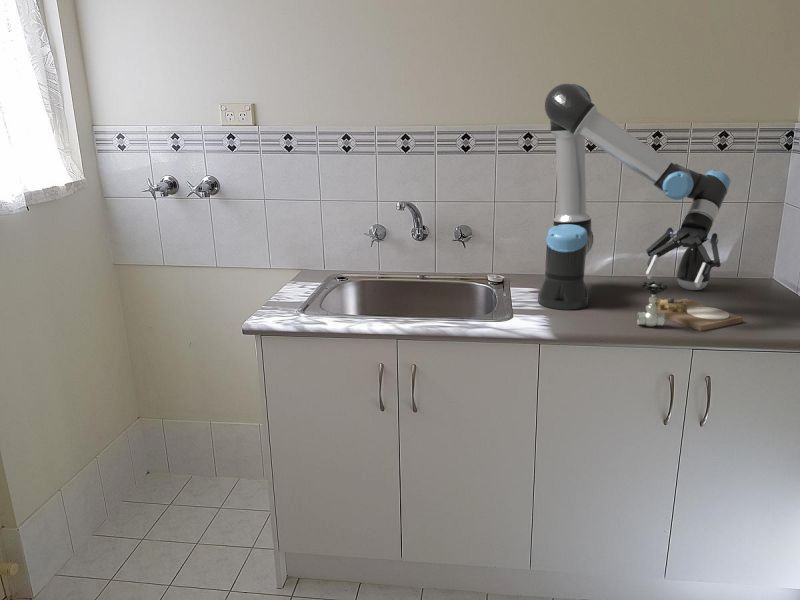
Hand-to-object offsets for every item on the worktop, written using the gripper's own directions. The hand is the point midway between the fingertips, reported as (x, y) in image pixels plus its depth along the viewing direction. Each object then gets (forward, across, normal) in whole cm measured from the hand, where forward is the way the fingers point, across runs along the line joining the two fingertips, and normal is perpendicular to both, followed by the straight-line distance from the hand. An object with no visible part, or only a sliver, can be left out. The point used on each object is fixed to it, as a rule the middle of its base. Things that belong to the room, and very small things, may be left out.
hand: (671, 280), depth 178 cm
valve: (+14, +1, -3) cm, 14 cm away
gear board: (+2, -4, -14) cm, 15 cm away
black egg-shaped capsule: (-18, +8, -35) cm, 40 cm away
